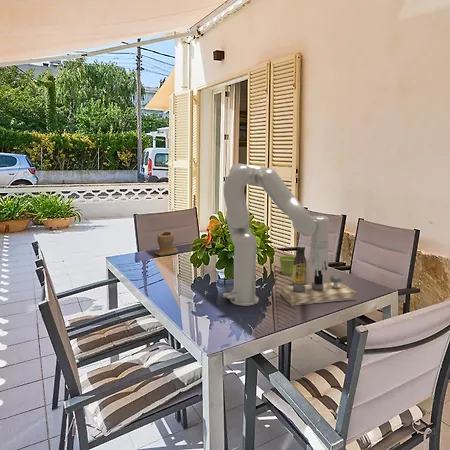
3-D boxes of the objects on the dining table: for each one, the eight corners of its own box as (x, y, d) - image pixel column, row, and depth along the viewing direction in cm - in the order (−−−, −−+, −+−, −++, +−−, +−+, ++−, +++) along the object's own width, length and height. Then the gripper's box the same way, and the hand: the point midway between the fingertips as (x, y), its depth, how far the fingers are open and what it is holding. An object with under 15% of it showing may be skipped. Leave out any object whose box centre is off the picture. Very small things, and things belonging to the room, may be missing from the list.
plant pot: (295, 271, 224) (295, 256, 222) (296, 276, 214) (297, 260, 213) (278, 270, 225) (278, 255, 223) (278, 275, 215) (279, 260, 214)
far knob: (333, 291, 181) (333, 278, 180) (327, 287, 186) (328, 275, 185) (343, 290, 182) (344, 277, 181) (337, 286, 187) (338, 274, 186)
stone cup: (160, 258, 252) (159, 234, 249) (153, 254, 262) (152, 231, 259) (182, 254, 259) (182, 232, 257) (174, 251, 269) (174, 229, 267)
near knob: (295, 301, 178) (295, 288, 177) (290, 297, 183) (291, 284, 182) (306, 300, 179) (306, 287, 178) (301, 296, 184) (302, 284, 183)
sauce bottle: (295, 288, 196) (296, 248, 192) (290, 284, 202) (291, 245, 198) (307, 286, 198) (309, 247, 194) (302, 282, 204) (303, 244, 200)
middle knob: (314, 299, 180) (314, 286, 179) (309, 295, 185) (309, 282, 184) (325, 298, 181) (325, 285, 180) (319, 294, 186) (320, 281, 185)
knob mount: (292, 306, 173) (292, 297, 172) (280, 295, 186) (280, 286, 185) (355, 300, 180) (355, 291, 179) (339, 290, 193) (339, 282, 192)
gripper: (304, 241, 185) (303, 279, 188) (319, 248, 170) (318, 290, 174) (319, 239, 186) (318, 278, 190) (335, 247, 172) (334, 288, 175)
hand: (318, 283), depth 182 cm, fingers closed
